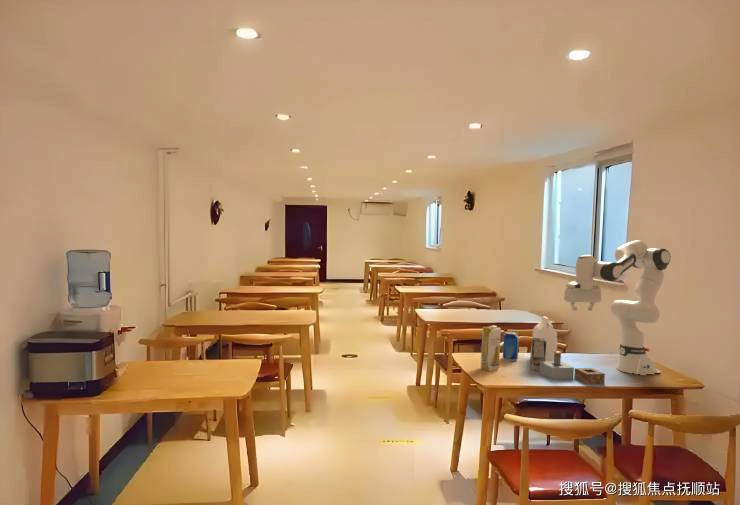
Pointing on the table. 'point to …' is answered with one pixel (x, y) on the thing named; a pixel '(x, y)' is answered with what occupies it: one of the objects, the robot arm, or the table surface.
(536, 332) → the milk
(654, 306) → the robot arm
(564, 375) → the socket
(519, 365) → the table surface
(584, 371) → the block
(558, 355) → the pin
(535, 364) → the coffee box
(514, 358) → the beer can
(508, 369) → the table surface
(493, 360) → the juice carton
